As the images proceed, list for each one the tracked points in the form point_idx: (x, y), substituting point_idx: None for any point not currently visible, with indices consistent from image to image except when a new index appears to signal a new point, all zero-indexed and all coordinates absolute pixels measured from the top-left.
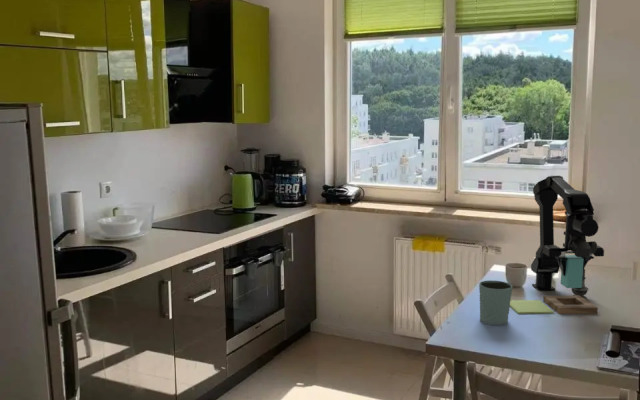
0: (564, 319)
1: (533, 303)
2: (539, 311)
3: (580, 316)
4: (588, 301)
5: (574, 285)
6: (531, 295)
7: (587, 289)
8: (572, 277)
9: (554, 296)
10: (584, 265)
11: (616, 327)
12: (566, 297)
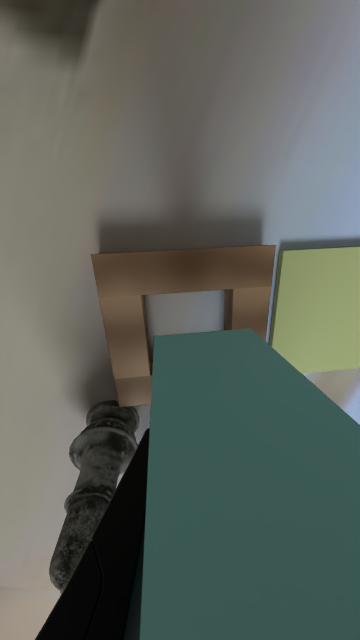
0: (274, 167)
1: (307, 342)
2: (337, 251)
3: (188, 209)
4: (108, 337)
5: (207, 338)
6: None
7: (77, 440)
8: (249, 370)
9: None
10: (92, 573)
11: (63, 3)
12: None
